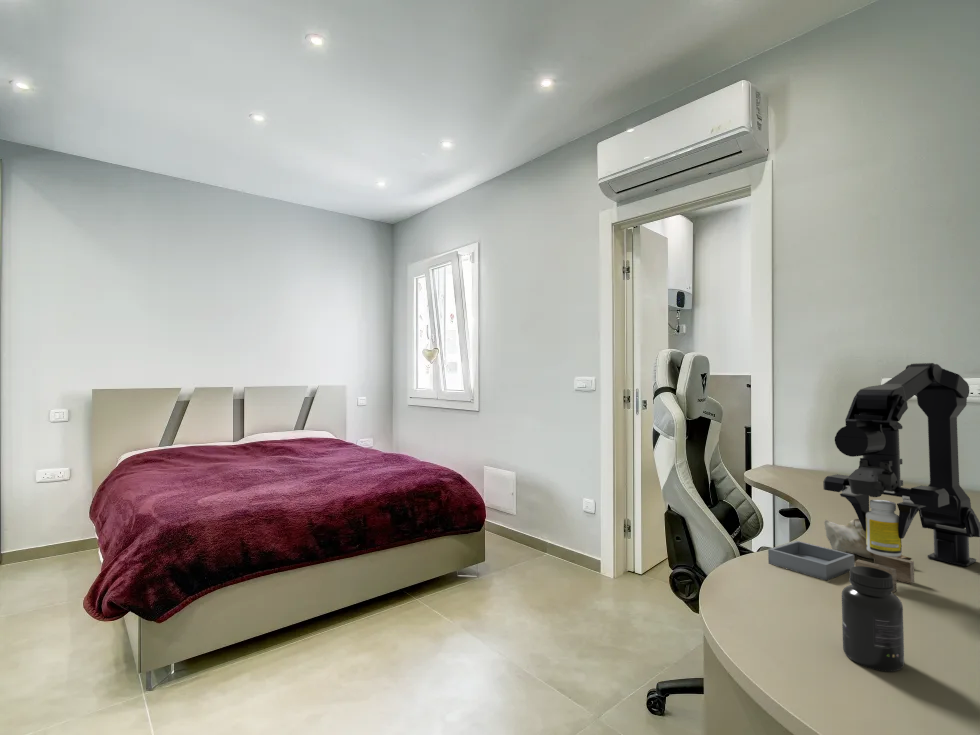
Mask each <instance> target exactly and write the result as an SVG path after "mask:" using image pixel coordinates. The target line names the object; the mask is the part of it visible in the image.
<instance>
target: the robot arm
mask: <svg viewBox="0 0 980 735" xmlns="http://www.w3.org/2000/svg"><path fill="white" fill-rule="evenodd" d="M969 395H970V385H969V383H968V382H967V381H966V379H964V378H963V376H961V375H960V374H959V373H955V372H953V371H950V370H948V369H945V368H943V367H941V365H940V364H938V363H934V362H922V363H920V362H919V363H911V364H907V365H906V367H905V369H904V370H902V371H901V372H899V373H897V374H896V375H895V376H893V377H892V378H890V379H889V380H887V381H885V383H882V384H878V385H872V386H867V387H863V388H860V389H859V390H858V391H857V392H856V394H855V395H854V397H853V399H852V402H851V405H850V407H849V410H848V413H847V415H846V417H845V419H844V420H845V426H843V427H841V428H839V429H838V431H837V432H836V434H835V436H834V444H835V447H836V448H837V449H838V451H839V452H840V453H842V454H843V455H845V456H847V457H860V458H859V461H858V462H859V466H858V468H856V469H855V470H853V471H852V472H851V473H850V474H849V475H847V474H845V475H844V474H837V473H836V474H832V475H828V476H826V477H824V480H823V481H822V482H823V483H822V484H823V490H824V491H829V492H833V493H834V492H836V493H839V495H840V497H842V498H845V499H846V500H847V501H849V503H850V504H851V506H852V507H853V510H854V512H855V514H856V515H857V519H859V521H860V523H861V525H862V527H863V530H864V531H866V513H867V512H869V511H870V498H878V497H881V496H882V495H885V496H892V497H899V498H901V500H902V501H900V502H898V503H896V507H897V509H898V511H899V512H898V516H899V527H898V532H899V538H901V540H902V539H904V538H905V536H906V534H907V533H908V530H909V528H910V526H911V525H912V522H913V520H914V518H915V517H916V515H917V514H919V520H920V522H921V528H922V529H928V530H929V529H930V530H932V532H933V553H930V554H928V555H927V558H928V559H931V560H936V561H939V562H945V563H948V564H952V565H958V566H962V567H968V566H970V565H972V564H973V563H976V562H977V559H976V558H973V557H970V538H980V520H979V518H978V517H977V514H976V513H975V511H974V509H973V508H972V505H971V504H972V503H971V499H970V496H969V495H968V494H967V493H966V492H965V491H964V489H963V488H962V486H961V485H960V467H959V465H960V464H959V444H958V443H959V439H958V417H959V415H961V413H962V412H963V411H964V409H965V408H966V407H967V404H968V403H967V401H968V400H967V399H968V398H969ZM914 396H915V397H916V401H917V405H918V407H919V408H920V409H921V411H922V412H923V413H924V414H925V416H926V418H927V433H928V458H929V459H928V462H929V463H928V464H929V484H928V486H927V485H917V486H914V487H911V488H910V487H903V486H904V480H903V479H901V465H903V458H900V457H901V455H900V454H901V453H900V450H901V449H900V430H903V428H904V427H903V425H902V424H901V422H900V421H901V418H902V417H903V416H904V414H905V413H906V412H907V410H908V409H909V406H908V401H909V400H910V399H912V398H913V397H914Z"/></svg>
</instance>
